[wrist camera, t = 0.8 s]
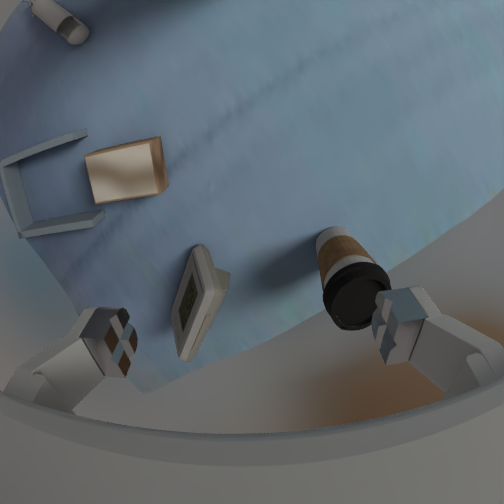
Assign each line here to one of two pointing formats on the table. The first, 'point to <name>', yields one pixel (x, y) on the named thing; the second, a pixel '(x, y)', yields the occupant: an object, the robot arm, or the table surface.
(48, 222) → the bay
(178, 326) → the digital clock
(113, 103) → the table surface
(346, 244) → the coffee cup
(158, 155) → the tan block
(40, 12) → the torpedo
